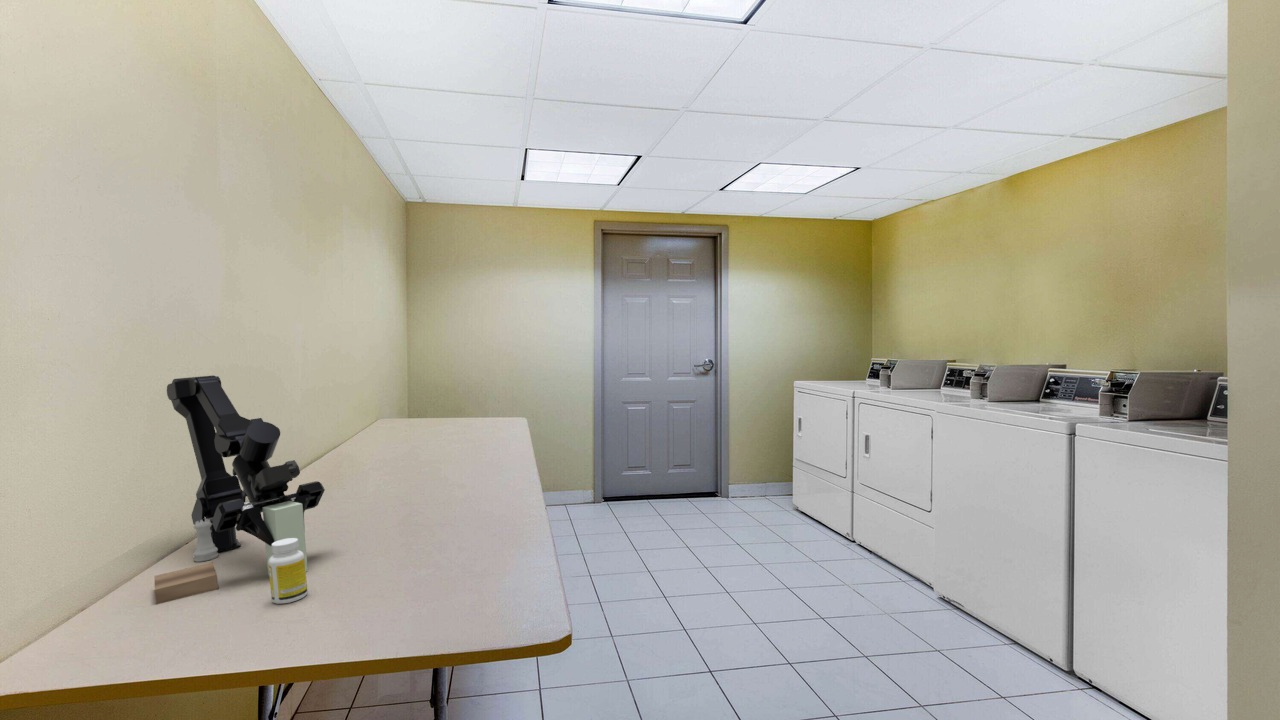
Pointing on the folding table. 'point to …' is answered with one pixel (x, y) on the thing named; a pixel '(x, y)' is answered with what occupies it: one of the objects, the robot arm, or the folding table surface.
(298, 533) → the sage post
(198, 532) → the rook chess piece
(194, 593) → the walnut block
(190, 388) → the robot arm
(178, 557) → the folding table surface
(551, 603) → the folding table surface
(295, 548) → the supplement bottle
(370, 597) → the folding table surface
